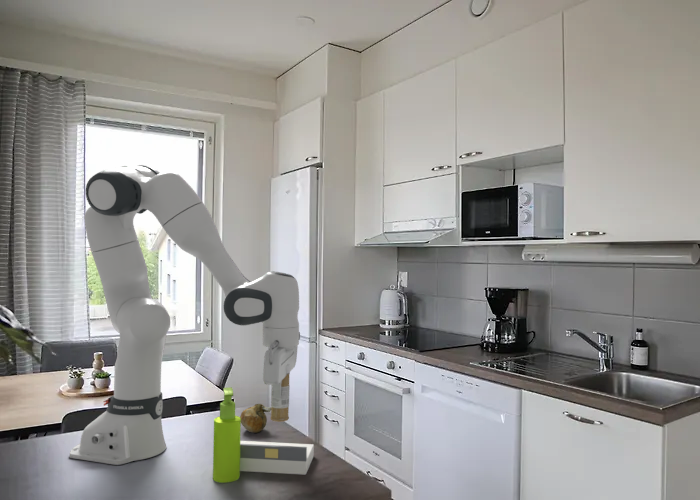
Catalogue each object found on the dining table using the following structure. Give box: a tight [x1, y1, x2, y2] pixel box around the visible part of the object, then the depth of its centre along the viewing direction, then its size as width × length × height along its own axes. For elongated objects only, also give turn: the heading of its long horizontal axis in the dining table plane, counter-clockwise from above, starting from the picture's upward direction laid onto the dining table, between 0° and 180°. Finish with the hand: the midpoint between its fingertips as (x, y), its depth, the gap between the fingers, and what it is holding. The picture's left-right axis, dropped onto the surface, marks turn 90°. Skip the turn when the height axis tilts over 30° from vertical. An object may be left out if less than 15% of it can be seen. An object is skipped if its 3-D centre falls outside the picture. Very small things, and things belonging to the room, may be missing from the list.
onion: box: [239, 403, 271, 434], centre depth 150 cm, size 8×8×8 cm
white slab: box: [240, 440, 315, 475], centre depth 127 cm, size 20×11×6 cm, turn 84°
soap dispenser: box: [212, 387, 242, 484], centre depth 118 cm, size 6×7×20 cm
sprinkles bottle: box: [270, 365, 291, 423], centre depth 129 cm, size 5×5×13 cm
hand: (280, 394), depth 129 cm, fingers closed on sprinkles bottle, 4 cm apart
